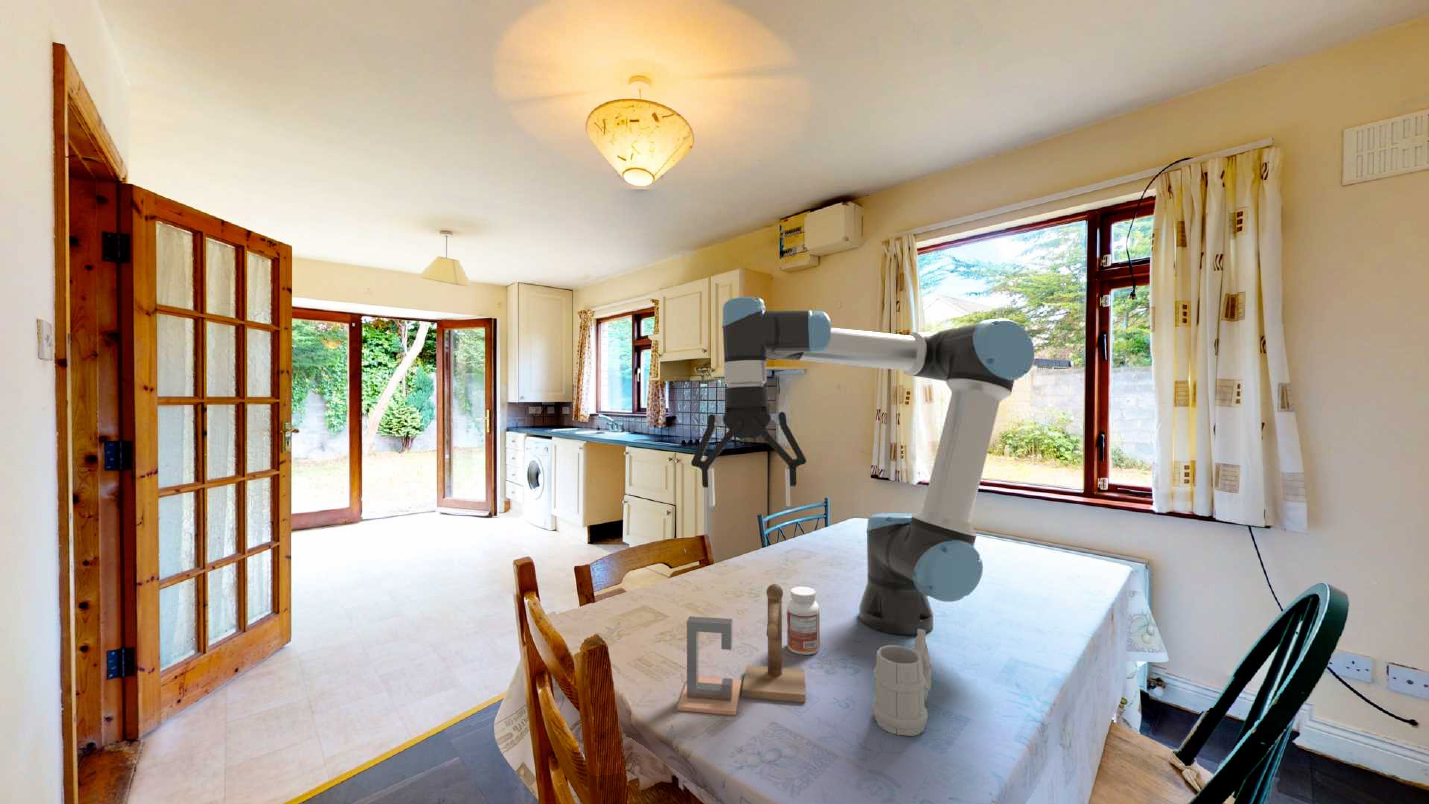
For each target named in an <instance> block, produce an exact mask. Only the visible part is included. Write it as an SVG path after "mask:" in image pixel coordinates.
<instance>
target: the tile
mask: <svg viewBox="0 0 1429 804" xmlns="http://www.w3.org/2000/svg"><path fill="white" fill-rule="evenodd" d="M722 681H723V678H717V677H703V676H699V682H701V683H714V684H722ZM742 681H743V680H741V679H733V695H732V700H731V701H720V700H708V699H696V698H687V681H686V683H685V684H684V685H685V686H684V688H683V691H682V693H681V694H680V695H681V696H680V699H679V700H678V704H676V705H677V706H676V710H677V711H681V712H694V713H703V714H704V713H707V714H717V715H726V716H727V715H728V716H736V714H737V709H738V705H739V700H740V693H741V690H742V685H743V682H742Z"/></svg>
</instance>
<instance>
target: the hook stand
mask: <svg viewBox="0 0 1429 804" xmlns="http://www.w3.org/2000/svg"><path fill="white" fill-rule="evenodd" d="M766 596H767V624H766V625H767V626H766V627H767V628H766V637H767V666H765V665H764V666H763V665H752V664H751V665H750V664H746V667H745V672H744V678H743V682H742V687H741V698H745V699H761V700H769V701H770V700H773V701H784V702H796V703H797V702H798V703H806V700H807V698H806V695H807V694H806V672H805V671H806V670H805V668H793V667H792V668H789V667H783V604H782V603H783V596H784V591H783V588H782V586H780V585H779V584H776V583H772V584H770V585H769V586H768V587H767V589H766Z"/></svg>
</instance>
